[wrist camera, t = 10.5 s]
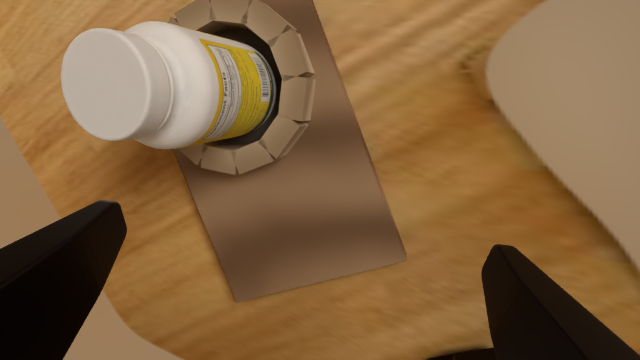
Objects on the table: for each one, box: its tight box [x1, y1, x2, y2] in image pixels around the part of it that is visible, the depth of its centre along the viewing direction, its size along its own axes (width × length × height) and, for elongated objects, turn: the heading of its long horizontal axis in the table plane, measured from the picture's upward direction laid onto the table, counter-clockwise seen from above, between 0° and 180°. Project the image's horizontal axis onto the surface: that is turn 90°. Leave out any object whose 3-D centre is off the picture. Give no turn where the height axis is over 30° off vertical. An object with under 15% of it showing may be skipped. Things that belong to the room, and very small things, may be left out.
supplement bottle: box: [61, 21, 276, 149], centre depth 18 cm, size 5×5×10 cm
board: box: [168, 0, 406, 302], centre depth 23 cm, size 18×12×2 cm, turn 22°
